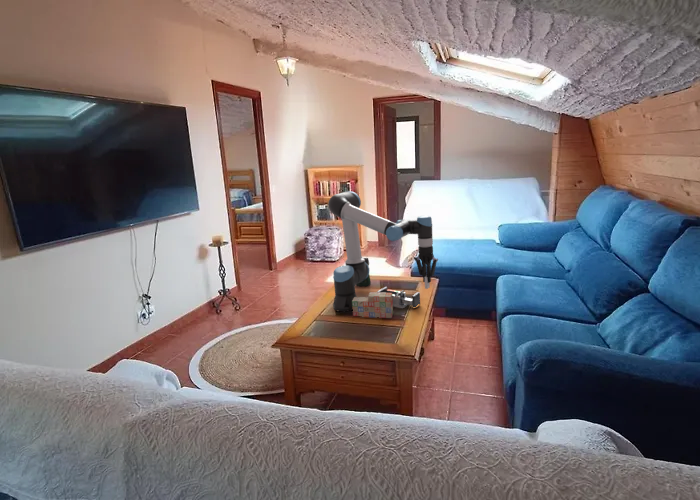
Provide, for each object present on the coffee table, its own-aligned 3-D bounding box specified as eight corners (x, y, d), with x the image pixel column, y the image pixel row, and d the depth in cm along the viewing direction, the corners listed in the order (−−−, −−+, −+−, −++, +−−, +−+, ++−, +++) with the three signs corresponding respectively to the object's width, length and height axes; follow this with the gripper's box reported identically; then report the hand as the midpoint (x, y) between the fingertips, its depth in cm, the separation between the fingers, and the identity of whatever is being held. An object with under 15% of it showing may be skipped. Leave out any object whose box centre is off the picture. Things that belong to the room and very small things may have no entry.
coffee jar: (371, 283, 273) (370, 256, 269) (368, 287, 266) (366, 259, 261) (358, 282, 276) (356, 256, 272) (354, 286, 269) (352, 259, 264)
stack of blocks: (352, 317, 222) (351, 295, 219) (355, 312, 227) (353, 291, 224) (391, 318, 216) (390, 296, 213) (393, 313, 222) (392, 292, 219)
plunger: (413, 310, 223) (413, 297, 221) (389, 305, 232) (388, 292, 231) (421, 304, 230) (420, 291, 228) (397, 299, 239) (396, 287, 238)
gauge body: (403, 308, 227) (402, 296, 225) (377, 303, 237) (377, 291, 235) (411, 303, 234) (410, 290, 232) (385, 298, 244) (385, 286, 242)
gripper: (440, 244, 213) (441, 287, 219) (417, 243, 221) (419, 284, 227) (433, 248, 208) (435, 291, 213) (411, 246, 215) (413, 288, 221)
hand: (427, 287), depth 220 cm, fingers closed
